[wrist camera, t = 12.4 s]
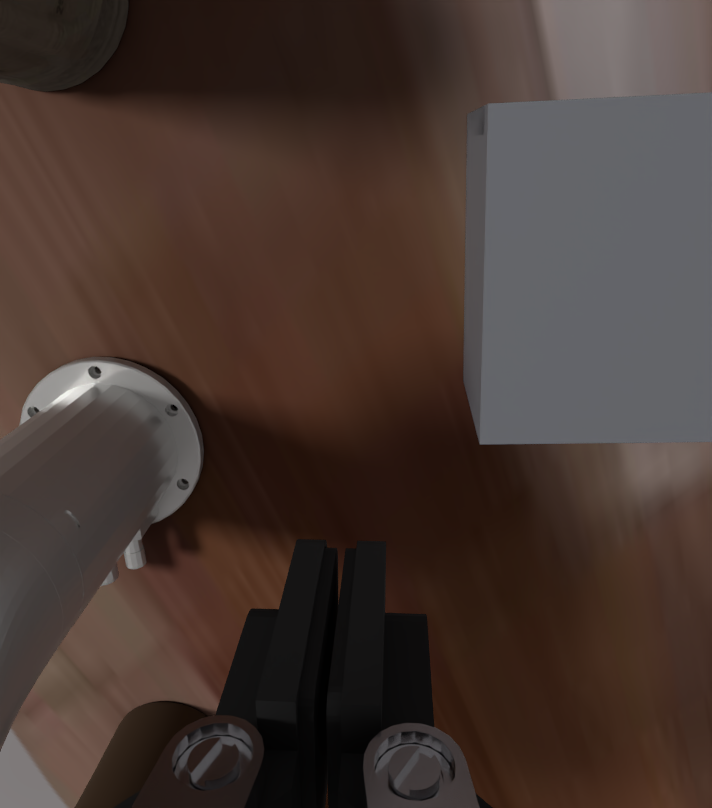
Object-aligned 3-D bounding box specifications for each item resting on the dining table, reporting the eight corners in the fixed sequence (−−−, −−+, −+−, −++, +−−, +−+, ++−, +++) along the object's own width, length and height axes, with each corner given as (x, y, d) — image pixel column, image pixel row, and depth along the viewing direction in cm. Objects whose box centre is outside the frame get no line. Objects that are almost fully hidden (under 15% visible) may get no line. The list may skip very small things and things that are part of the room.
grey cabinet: (784, 375, 42) (892, 439, 33) (463, 381, 44) (479, 444, 34) (838, 96, 37) (986, 78, 27) (467, 114, 38) (488, 103, 29)
